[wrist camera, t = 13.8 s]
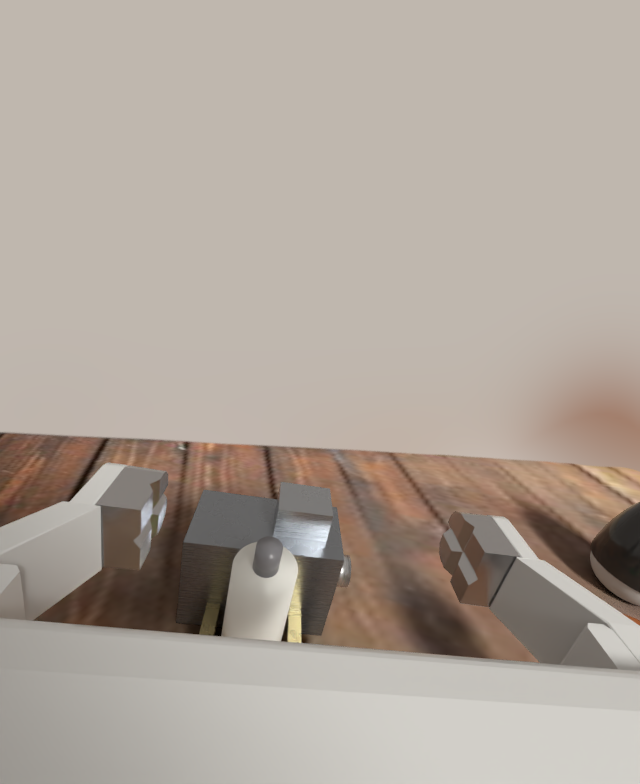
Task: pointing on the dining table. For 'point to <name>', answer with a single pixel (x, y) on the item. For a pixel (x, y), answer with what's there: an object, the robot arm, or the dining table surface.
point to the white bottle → (260, 591)
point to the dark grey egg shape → (619, 555)
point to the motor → (248, 525)
